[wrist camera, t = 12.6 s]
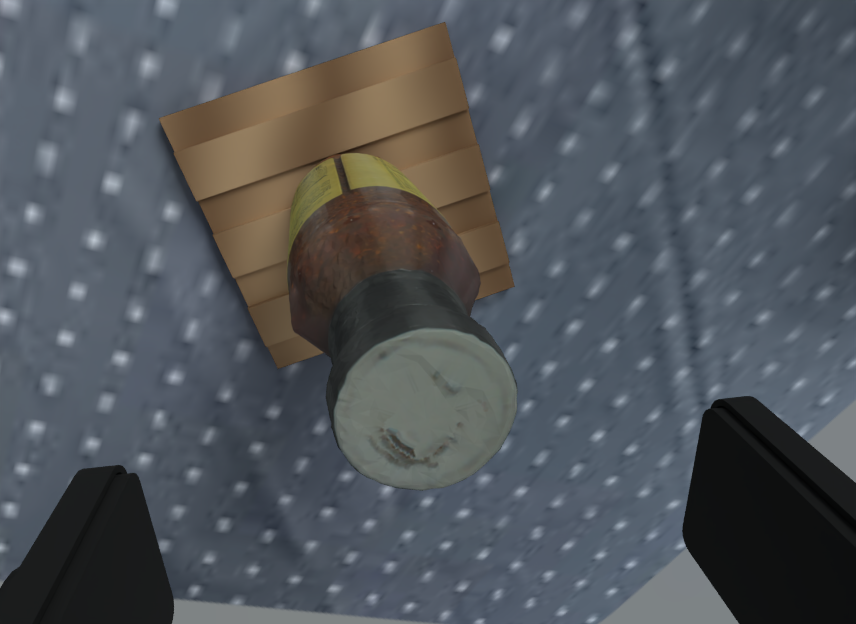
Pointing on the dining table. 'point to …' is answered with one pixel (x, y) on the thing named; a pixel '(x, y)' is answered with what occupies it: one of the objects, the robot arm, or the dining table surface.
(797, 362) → the dining table surface
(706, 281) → the dining table surface
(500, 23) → the dining table surface
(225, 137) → the trivet
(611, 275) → the dining table surface
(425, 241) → the sauce bottle
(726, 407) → the robot arm
